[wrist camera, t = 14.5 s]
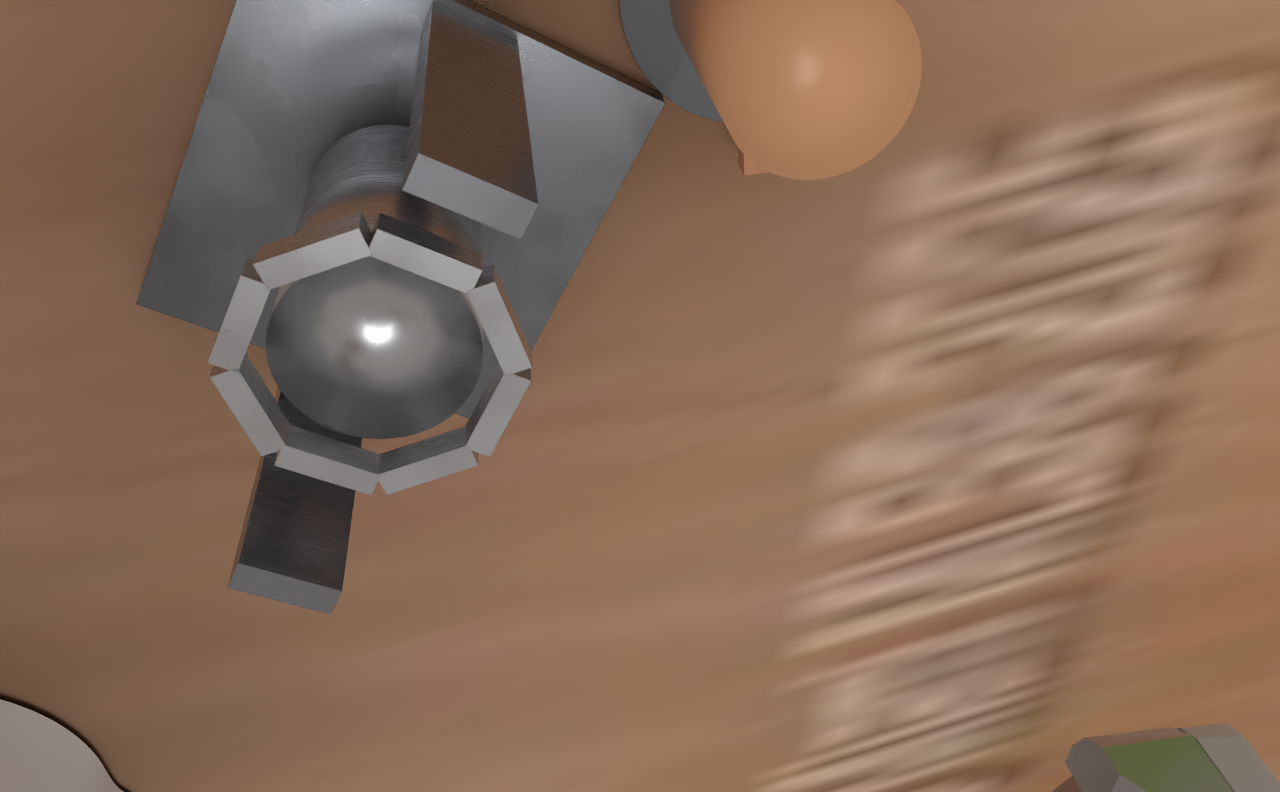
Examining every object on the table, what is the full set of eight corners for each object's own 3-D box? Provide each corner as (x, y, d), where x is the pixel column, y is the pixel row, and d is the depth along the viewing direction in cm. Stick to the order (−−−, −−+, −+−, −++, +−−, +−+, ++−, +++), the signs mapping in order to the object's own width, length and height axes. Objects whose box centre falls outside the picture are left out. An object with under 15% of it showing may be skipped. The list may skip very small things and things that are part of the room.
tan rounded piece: (827, 140, 41) (907, 250, 33) (677, 156, 40) (724, 271, 33) (839, -190, 35) (939, -144, 27) (662, -174, 34) (715, -124, 27)
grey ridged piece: (489, 411, 46) (497, 665, 35) (142, 290, 41) (17, 541, 30) (661, 93, 40) (740, 278, 28) (271, -97, 35) (174, 33, 23)
